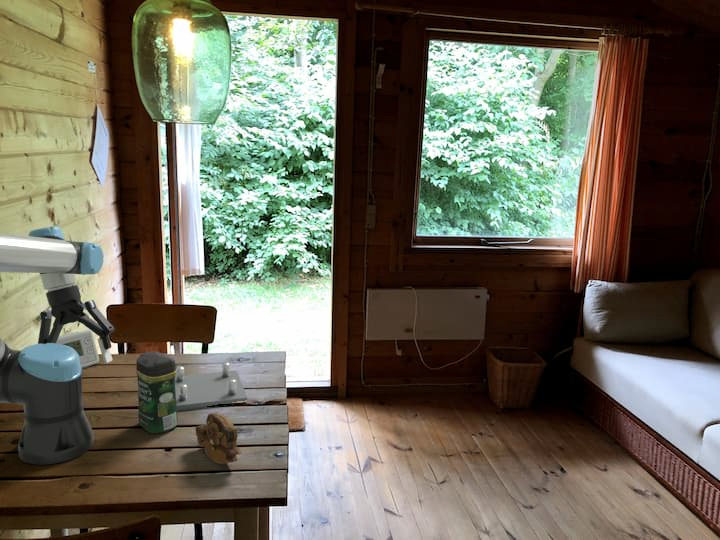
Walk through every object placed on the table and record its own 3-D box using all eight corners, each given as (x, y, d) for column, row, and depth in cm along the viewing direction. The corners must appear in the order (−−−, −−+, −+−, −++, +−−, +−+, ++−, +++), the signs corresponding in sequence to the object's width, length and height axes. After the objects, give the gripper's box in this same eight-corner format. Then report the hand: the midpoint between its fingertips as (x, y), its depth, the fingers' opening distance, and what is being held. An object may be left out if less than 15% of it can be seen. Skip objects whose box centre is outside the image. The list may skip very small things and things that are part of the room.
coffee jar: (133, 424, 142) (130, 353, 138) (163, 414, 148) (160, 346, 144) (152, 438, 136) (149, 364, 132) (182, 427, 141) (181, 356, 137)
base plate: (247, 402, 156) (247, 383, 155) (170, 411, 149) (169, 392, 148) (236, 375, 174) (236, 358, 173) (167, 381, 167) (166, 364, 166)
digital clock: (46, 380, 166) (43, 345, 163) (37, 370, 172) (34, 337, 170) (104, 367, 177) (102, 334, 175) (93, 358, 183) (91, 327, 181)
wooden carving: (188, 449, 132) (187, 408, 129) (205, 442, 135) (204, 402, 133) (230, 478, 121) (230, 434, 119) (248, 469, 124) (248, 427, 122)
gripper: (113, 275, 148) (136, 353, 150) (27, 295, 151) (50, 371, 153) (98, 279, 140) (121, 361, 142) (7, 300, 143) (31, 380, 145)
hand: (84, 367), depth 148 cm, fingers open, 13 cm apart
